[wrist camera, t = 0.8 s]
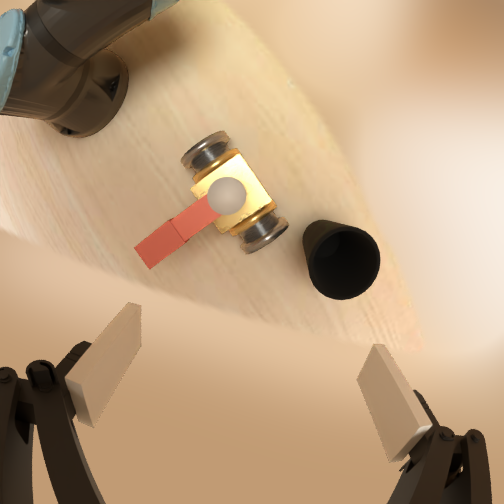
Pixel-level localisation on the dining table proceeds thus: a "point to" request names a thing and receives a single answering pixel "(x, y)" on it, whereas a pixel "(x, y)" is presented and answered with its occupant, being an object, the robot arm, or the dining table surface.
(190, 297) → the dining table surface
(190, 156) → the valve body
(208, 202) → the lever
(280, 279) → the dining table surface
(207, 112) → the dining table surface
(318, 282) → the cup
